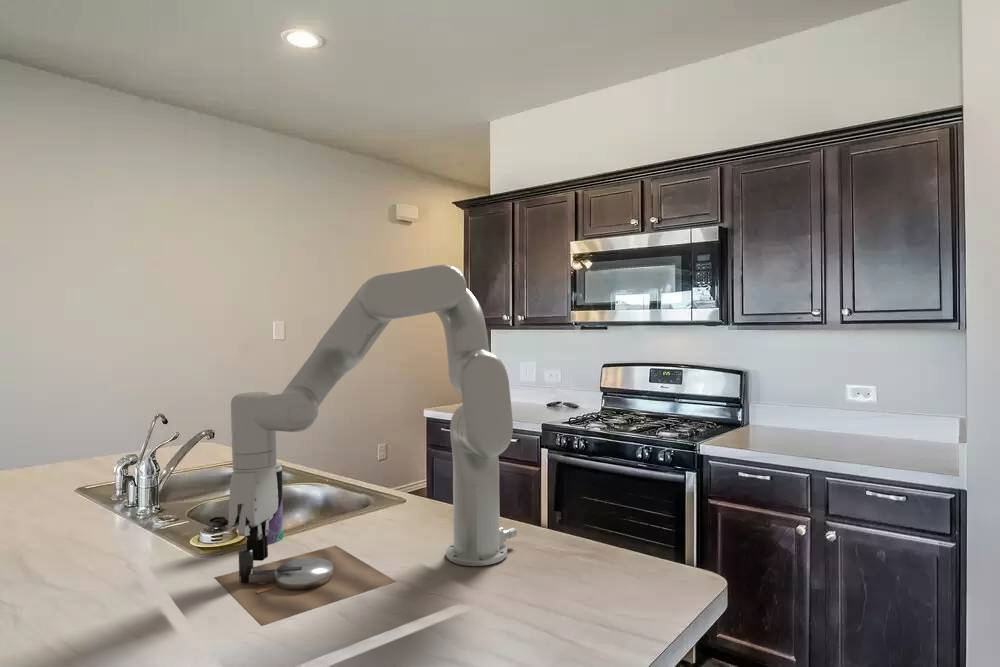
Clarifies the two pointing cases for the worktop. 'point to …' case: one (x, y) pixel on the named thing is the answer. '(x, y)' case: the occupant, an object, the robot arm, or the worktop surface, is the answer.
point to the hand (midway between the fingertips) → (257, 558)
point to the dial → (287, 572)
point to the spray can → (277, 513)
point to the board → (281, 603)
